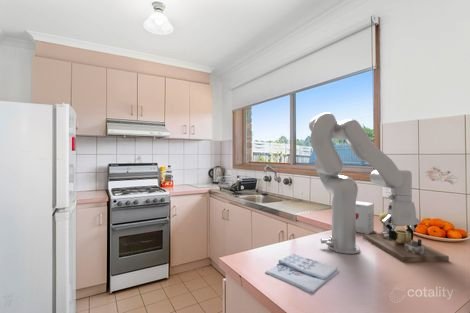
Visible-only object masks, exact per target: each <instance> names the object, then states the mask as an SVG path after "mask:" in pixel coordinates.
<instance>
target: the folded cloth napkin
mask: <svg viewBox="0 0 470 313" xmlns="http://www.w3.org/2000/svg"><path fill="white" fill-rule="evenodd" d="M297 271H298V272H301V273H297ZM339 273H340V270H338V266H334V265H332V264H328V263H325V262H321V261H318V260H316V259H315V260H314V259H311V258H308V257H304V256H300V255H297V254H295V253H291V254H289V255H288V256H285V257H282V258H281V259H278V263H277V264H276V266H273V267H272V268H270V269H268V270H266V271H265V272H264V274H266V275H269V276H271V277H274V278H276V279H278V280H280V281H283V282H285V283H287V284H290V285H292V286H294V287H297V288H299V289H301V290H302V291H305V292H306V293H307V294H311V295H313V294H314V293H315V292H316V291H317V290H318V289H319V288H321V287H322V286H323V285H324V284H326V283H327V282H328V281H330V280H331V279H332V278H333V277H335V276H336V275H339Z"/></svg>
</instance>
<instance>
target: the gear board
mask: <svg viewBox="0 0 470 313" xmlns="http://www.w3.org/2000/svg"><path fill="white" fill-rule="evenodd" d="M363 239H364V240H366V241H367V242H369V243H371V245H374V246H375V247H377V248H379V249H381V250H382V251H384V252H385V253H387V254H389V255H390V256H392V257H394V258H395V259H397V260H399V261H400V262H402V263H431V262H434V263H436V262H439V263H440V262H441V263H442V262H450V258H449V257H450V256H449V255H447V254H445V253H442V252H441V251H438V250H436V249H434V248H431V247H429V246H427V245H425V244H423V243H422V239H420V238H419V239H417V241H416V240H414V239H413V240H411V243H407V244H406V243H398V242H396V241H393V240H392V239H390V238H389V230H387V232H386V231H380V233H377V234H375V233H373V234H372V233H369V234H364V233H363Z"/></svg>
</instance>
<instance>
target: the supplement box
mask: <svg viewBox="0 0 470 313" xmlns="http://www.w3.org/2000/svg"><path fill="white" fill-rule="evenodd" d="M374 218H375V203H371V202H366V201H358V200H356V233H361V234H363V235H364V234H372V233H373V231H375V230H374V229H375V228H374V227H375V220H374Z"/></svg>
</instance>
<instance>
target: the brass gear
mask: <svg viewBox="0 0 470 313" xmlns="http://www.w3.org/2000/svg"><path fill="white" fill-rule="evenodd" d="M394 231H395V232H396V240H393V241H396V242H398V243H406V244H407V243H411V233H410V232H409V231H406V229H405V230H404V229H398V228H395V230H394Z"/></svg>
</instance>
